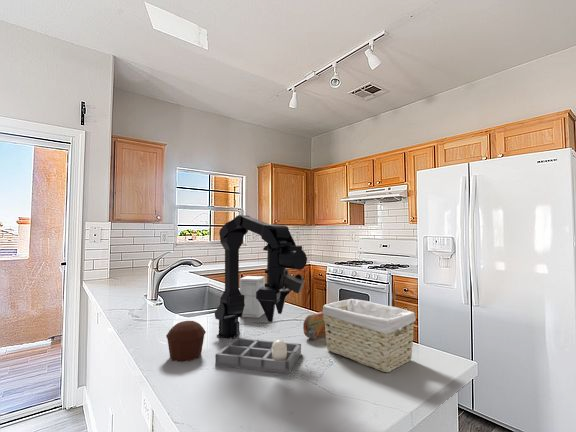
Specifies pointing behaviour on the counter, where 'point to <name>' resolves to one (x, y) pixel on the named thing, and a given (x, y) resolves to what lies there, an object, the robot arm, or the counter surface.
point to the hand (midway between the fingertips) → (275, 317)
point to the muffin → (185, 341)
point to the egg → (279, 350)
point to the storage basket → (369, 333)
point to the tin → (314, 326)
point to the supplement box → (252, 295)
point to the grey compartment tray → (257, 356)
